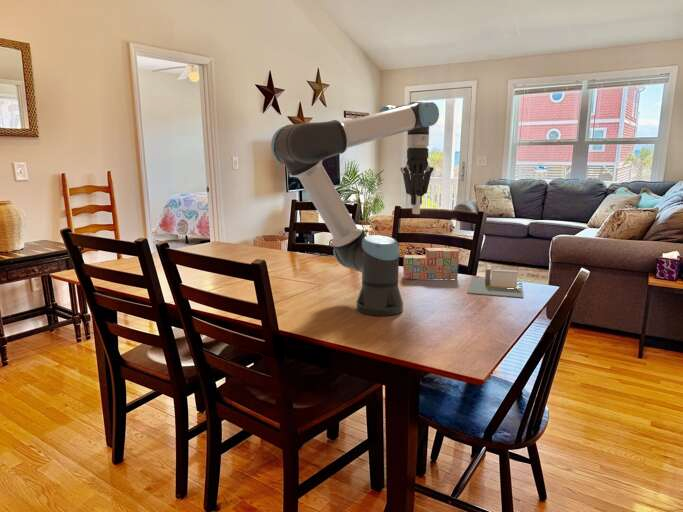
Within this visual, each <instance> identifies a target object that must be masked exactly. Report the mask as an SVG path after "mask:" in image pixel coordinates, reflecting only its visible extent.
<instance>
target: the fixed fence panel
mask: <svg viewBox="0 0 683 512" xmlns="http://www.w3.org/2000/svg"><path fill="white" fill-rule="evenodd" d="M491 267H492V264H491V263H487V266H486V269H491ZM491 270H492V269H491Z"/></svg>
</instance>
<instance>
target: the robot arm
mask: <svg viewBox="0 0 683 512" xmlns="http://www.w3.org/2000/svg"><path fill="white" fill-rule="evenodd" d="M439 119H440V110H439V107H438V105H437V104H436V103H435V102H434V101H418V100H417V101H410V102H409V103H408V104H402V105H383V106H382V107H381V108H380V109H379V111H378V112H377V113H373V114H368V115H363V116H361V117H356V118H353V119H349V120H345V121H340V120H338V119H334V120H329V121H320V122H302V123H296V124H292V123H291V124H287V125H284V126H282V127H280V128H278V129H277V130H276V131H275V133H273V136H272V138H271V142H270V149H271V152H272V155H273V157H274V159H276V161H278V163H280V164H282V165H284V166H285V168H286V169H287V172H288V173H289V175H290V176H291V177H294V178H298V180H299V181H300V183H301V185H302V187H303V188H304V190H305V193H307V195H308V197H309V199H310V201H311V203H312V204H313V206H314V207H315V209H316V210H317V212H318V214H319V215H320V217H321V219H322V220H323V223H324V224H325V226H326V227H327V229H328V231H329V232H330V234H331V236H332V240H331V245H332V246H333V249H332V251H333V256H334V258H335V260H336V261H337V262H338V264H340V265H341V266H343V267H345V268H347V269H351V270H354V271H357V272H360V273H361V287H360V291H359V294H358V297H357V299H356V307H355V308H356V310H357V312H359V313H361V314H364V315H368V316H374V317H375V316H377V317H380V316H381V317H385V316H388V317H389V316H395V315H398V314H400V313H402V312H403V310H404V302H403V298H402V295H401V292H400V289H399V266H400V265H399V263H400V262H399V261H400V249H399V247H400V246H399V242H398V241H397V240H396V239H395V238H393V237H390V236H386V235H380V234H371V235H367V233H366V232H365V230H364V228H363V227H362V225H360V224H356V223H355V221H354V219H353V218H352V216H351V214H350V213H349V210H348V209H347V207H346V205H345V204H344V201H343V199H342V198H341V196H340V194H339V193H338V191H337V189H336V187H335V185H334V184H333V182H332V180H331V178H330V176H329V175H328V173H327V171H326V169H325V167H324V166H323V161H324V160H326V159H329V158H331V157H335V156H337V155H341V154H344V153H345V152H346V151H347V150H348V148H353V147H356V146H359V145H363V144H367V143H369V142H373V141H377V140H381V139H384V138H387V137H390V136H395V135H399V134H401V133H404V132H407V138H406V139H407V142H406V144H407V147H408V148H407V149H406V159H407V162H406V164H405V166H403V167H400V172H401V173H402V177H403V181H404V182H403V183H404V189H405V193H406V195H409V196H410V205H411V206H412V207H411V208H412V209H411V211H412V212H411V213H412V214H413V215H420V214H421V205H422V204H423V203H422V202H423V200H422V199H423V196H424V195H425V194H427V193H428V189H429V185H430V181H431V176H432V173H433V171H434V167H432V166H430V165H429V162H428V159H429V148H428V146H429V142H430V127H432V126H434V125H436V124H437V122H438V120H439Z"/></svg>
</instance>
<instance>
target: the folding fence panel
mask: <svg viewBox="0 0 683 512" xmlns="http://www.w3.org/2000/svg"><path fill="white" fill-rule="evenodd" d="M518 275H519V273H518V270H504V269H487V268H486V269H485V276H484V279H485V286H490V279H491V286H503V287H517V281H518Z"/></svg>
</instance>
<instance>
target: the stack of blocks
mask: <svg viewBox="0 0 683 512" xmlns="http://www.w3.org/2000/svg"><path fill="white" fill-rule="evenodd" d="M459 253H460V252H459V250H458V249H457V248H452V247H451V248H450V247H449V248H448V247H434V248H433V247H426V248H425V254H420V255H419V254H404V255H403V266H402V269H403V270H402V271H403V272H402V276H404V277H403V279H404V280H405V279H455V280H454V281H458V274H459V260H460V258H459V255H460V254H459Z"/></svg>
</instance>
